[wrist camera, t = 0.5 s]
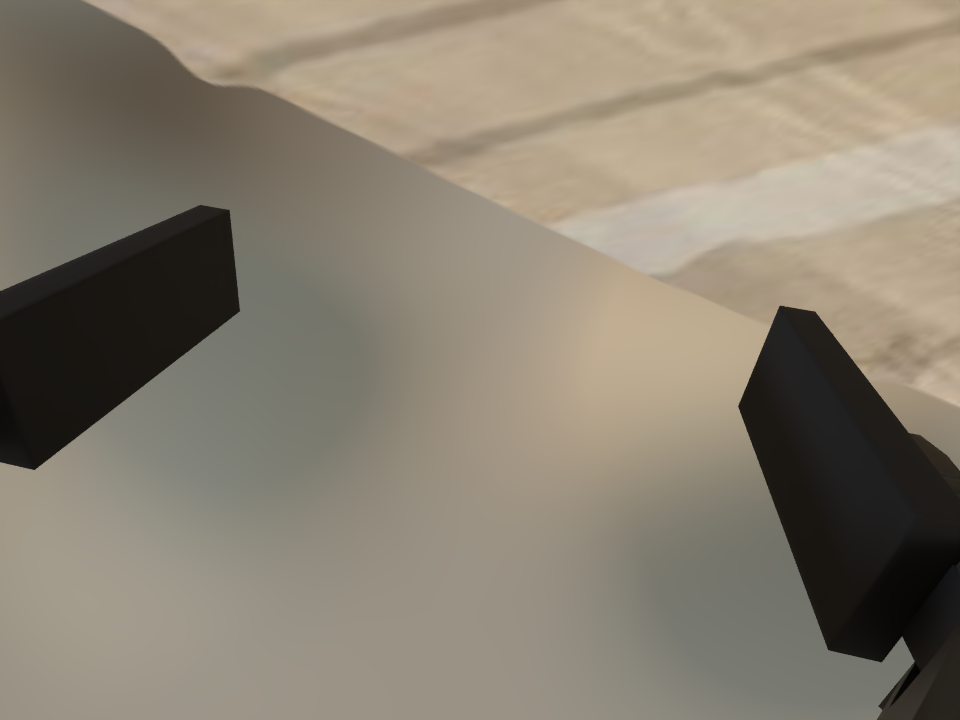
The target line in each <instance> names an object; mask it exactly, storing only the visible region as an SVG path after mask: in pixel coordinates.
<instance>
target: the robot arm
mask: <svg viewBox="0 0 960 720" xmlns="http://www.w3.org/2000/svg"><path fill="white" fill-rule="evenodd" d="M238 312H240V308H239V298H238V288H237V279H236V269H235V259H234V249H233V239H232V230H231V220H230V211H229V210H226V209H220V208H214V207H209V206H203V205H200V206H197V207H195V208H193V209H190V210H188V211H185V212H183V213H181V214H178V215H176V216H174V217H172V218H169V219H167V220H165V221H162V222H160V223H158V224H155V225H153V226H151V227H148V228H146V229H144V230H142V231H139V232H137V233H134V234H132V235H130V236H128V237H125V238H123V239H121V240H118V241H116V242H113V243H111V244H109V245H106V246H104V247H102V248H100V249H97V250H95V251H93V252H91V253H88V254H86V255H83V256H81V257H79V258H76V259H74V260H72V261H69V262H67V263H65V264H62V265H60V266H58V267H56V268H53V269H51V270H48V271H46V272H44V273H41V274H39V275H37V276H35V277H32V278H30V279H28V280H25V281H23V282H21V283H18V284H16V285H14V286H11V287H9V288H7V289H4V290H2V291H0V462H2V463H6V464H11V465H15V466H19V467H24V468H28V469H32V470H35V469H36V468H38V467H39V466H40V465H42V464H43V463H44V462H45V461H47V460H48V459H49V458H51V457H52V456H53V455H55V454H56V453H57V452H58V451H60V450H61V449H62V448H63V447H65V446H66V445H67V444H68V443H70V442H71V441H73V440H74V439H75V438H76V437H78V436H79V435H80V434H81V433H83V432H84V431H86V430H87V429H88V428H89V427H90V426H92V425H93V424H95V423H96V422H97V421H98V420H100V419H101V418H102V417H104V416H105V415H106V414H108V413H109V412H110V411H111V410H113V409H114V408H115V407H117V406H118V405H119V404H120V403H122V402H123V401H124V400H126V399H127V398H128V397H130V396H131V395H132V394H133V393H135V392H136V391H137V390H139V389H140V388H141V387H143V386H144V385H145V384H146V383H148V382H149V381H150V380H152V379H153V378H154V377H155V376H157V375H158V374H159V373H161V372H162V371H163V370H164V369H166V368H167V367H168V366H170V365H171V364H172V363H173V362H175V361H176V360H177V359H179V358H180V357H181V356H182V355H184V354H185V353H186V352H188V351H189V350H190V349H192V348H193V347H194V346H196V345H197V344H198V343H199V342H201V341H202V340H203V339H204V338H206V337H207V336H209V335H210V334H211V333H212V332H214V331H215V330H216V329H218V328H219V327H220V326H221V325H223V324H224V323H225V322H227V321H228V320H229V319H231V318H232V317H233V316H234V315H236V314H237V313H238ZM738 407H739V410H740V413H741V415H742V418H743V421H744V423H745V426H746V429H747V432H748V434H749V437H750V440H751V442H752V445H753V448H754V450H755V453H756V455H757V459H758V461H759V464H760V467H761V469H762V472H763V475H764V477H765V480H766V483H767V486H768V488H769V491H770V494H771V496H772V499H773V502H774V504H775V507H776V510H777V512H778V515H779V518H780V520H781V524H782V526H783V529H784V531H785V534H786V537H787V539H788V542H789V545H790V548H791V551H792V553H793V556H794V559H795V561H796V564H797V567H798V570H799V572H800V575H801V577H802V580H803V583H804V585H805V588H806V591H807V594H808V597H809V599H810V602H811V605H812V607H813V610H814V613H815V615H816V618H817V621H818V624H819V626H820V629H821V632H822V634H823V637H824V640H825V643H826V645H827V648H828V650H830V651H834V652H839V653H843V654H848V655H852V656H856V657H861V658H865V659H869V660H874V661H878V662H882V661H883V660H884V659H885V657H886V656H887V655H888V653H889V652H890V651H891V650H892V648H893V647H894V646H895V644H896V643H897V642H898V641H899V639H900V638H901V637H903V638H904V641H905V643H906V645H907V647H908V648H909V651H910V653H911V655H912V657H913V659H914V660H915V662H914V664H912V666H911V667H910V668H909V669H908V671H907V672H906V673H905V674H904V676H903V677H902V678H901V679H900V681H899V682H898V683H897V684H896V685H895V686H894V688H893V689H892V690H891V691H890V693H889V694H888V695H887V696H886V698H885V699H884V700H883V701H882V702H881V704H880V705H879V707H880V708H881V709H882V712H881V714H880V716H879V717H878V719H877V720H960V471H959V469H958V468H957V467H956V466H955V465H954V464H953V462H952V461H951V460H950V458H949V457H948V456H947V455H946V454H944V453H943V452H942V451H940V450H939V449H938V448H936V447H935V446H934V445H932V444H931V443H930V442H928V441H927V440H925V439H924V438H923V437H922V436H920V435H916V434H910V433H908V432H907V430H906V429H905V428H904V426H903V425H902V424H901V422H900V421H899V420H898V418H897V417H896V416H895V415H894V414H893V412H892V411H891V410H890V408H889V407H888V405H887V404H886V403H885V402H884V400H883V399H882V398H881V396H880V395H879V394H878V393H877V391H876V390H875V389H874V387H873V386H872V385H871V383H870V382H869V381H868V380H867V378H866V377H865V376H864V374H863V373H862V372H861V370H860V369H859V368H858V367H857V365H856V364H855V363H854V361H853V360H852V359H851V358H850V356H849V355H848V354H847V352H846V351H845V350H844V348H843V347H842V346H841V345H840V343H839V342H838V341H837V339H836V338H835V337H834V335H833V334H832V333H831V332H830V330H829V329H828V328H827V326H826V325H825V324H824V322H823V321H822V320H821V319H820V317H819V316H818V315H817V313H816V312H814V311H808V310H802V309H797V308H791V307H785V306H779V309H778V311H777V314H776V316H775V318H774V321H773V323H772V326H771V328H770V331H769V333H768V335H767V338H766V340H765V343H764V345H763V348H762V350H761V352H760V355H759V357H758V360H757V362H756V365H755V367H754V369H753V372H752V374H751V377H750V379H749V382H748V384H747V387H746V389H745V391H744V394H743V396H742V398H741V401H740V403H739V406H738Z"/></svg>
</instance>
